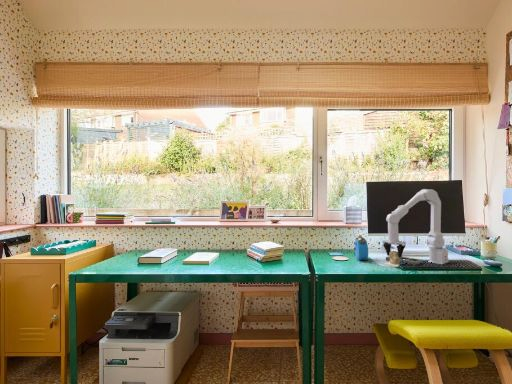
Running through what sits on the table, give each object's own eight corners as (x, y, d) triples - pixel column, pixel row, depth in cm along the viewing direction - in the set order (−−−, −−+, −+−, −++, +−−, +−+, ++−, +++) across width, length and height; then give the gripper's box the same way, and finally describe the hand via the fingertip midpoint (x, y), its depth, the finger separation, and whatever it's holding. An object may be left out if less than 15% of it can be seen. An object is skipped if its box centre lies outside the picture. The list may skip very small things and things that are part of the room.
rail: (422, 263, 211) (422, 259, 211) (415, 265, 207) (414, 262, 207) (393, 258, 228) (393, 255, 228) (385, 260, 223) (385, 257, 223)
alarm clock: (369, 261, 222) (367, 238, 222) (359, 262, 222) (357, 238, 222) (364, 257, 235) (363, 235, 235) (354, 257, 235) (353, 235, 235)
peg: (399, 263, 212) (399, 251, 212) (395, 264, 210) (395, 252, 209) (394, 262, 215) (393, 250, 215) (389, 263, 213) (389, 251, 213)
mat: (406, 264, 211) (406, 263, 211) (396, 266, 206) (396, 266, 206) (392, 261, 218) (392, 261, 218) (383, 264, 214) (383, 263, 214)
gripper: (378, 233, 216) (380, 255, 216) (400, 235, 204) (401, 259, 204) (386, 232, 220) (387, 254, 220) (407, 234, 207) (408, 257, 208)
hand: (394, 256), depth 212 cm, fingers open, 7 cm apart
